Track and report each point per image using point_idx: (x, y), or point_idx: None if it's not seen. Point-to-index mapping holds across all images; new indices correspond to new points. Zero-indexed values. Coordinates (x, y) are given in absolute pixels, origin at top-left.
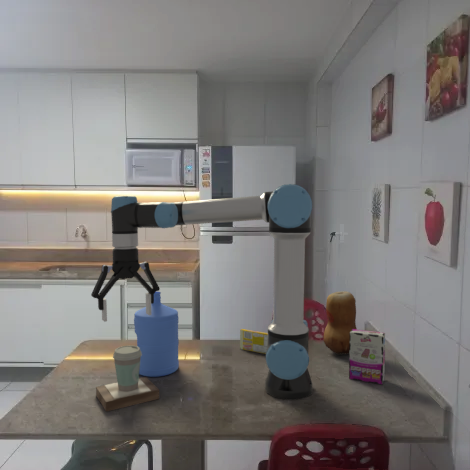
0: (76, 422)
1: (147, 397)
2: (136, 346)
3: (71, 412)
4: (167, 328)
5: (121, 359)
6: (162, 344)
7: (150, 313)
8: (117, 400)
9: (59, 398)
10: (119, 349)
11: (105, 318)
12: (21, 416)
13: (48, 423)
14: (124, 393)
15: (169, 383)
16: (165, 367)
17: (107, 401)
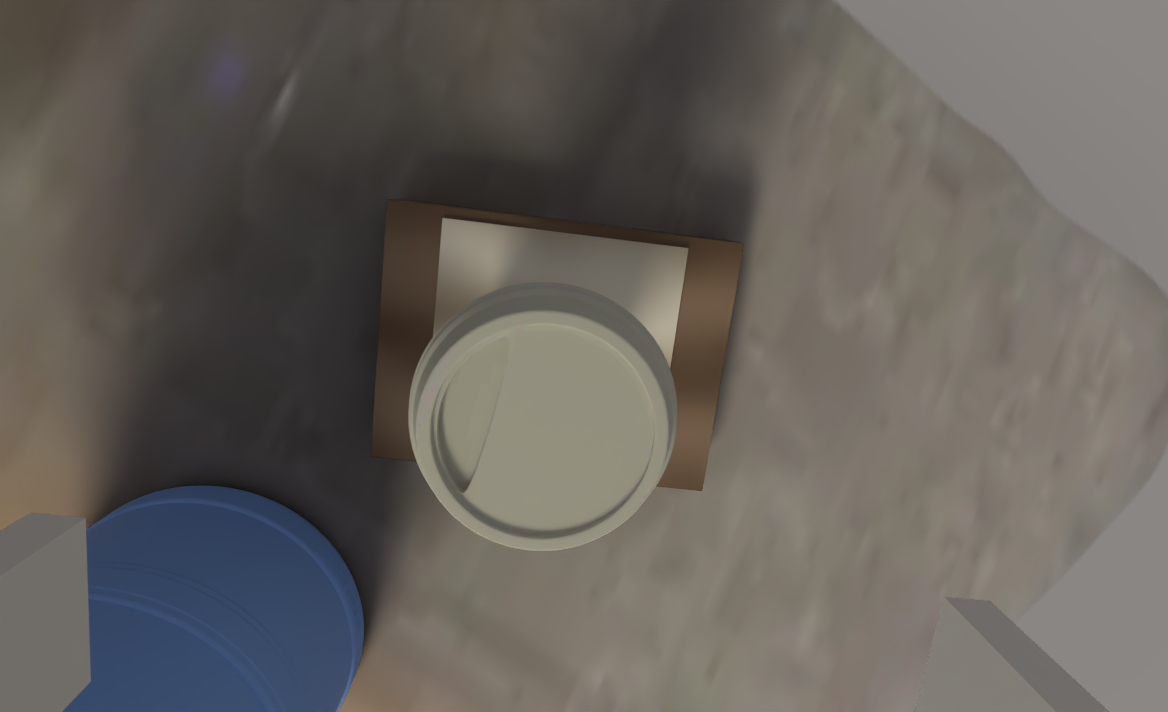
0: (906, 219)
1: (475, 209)
2: (429, 460)
3: (879, 351)
4: None
5: (644, 331)
6: (99, 608)
7: (26, 528)
8: (671, 235)
9: (861, 554)
10: (600, 494)
11: (1007, 632)
12: (1085, 462)
13: (1017, 301)
14: (605, 280)
15: (246, 366)
16: (189, 506)
17: (734, 245)
